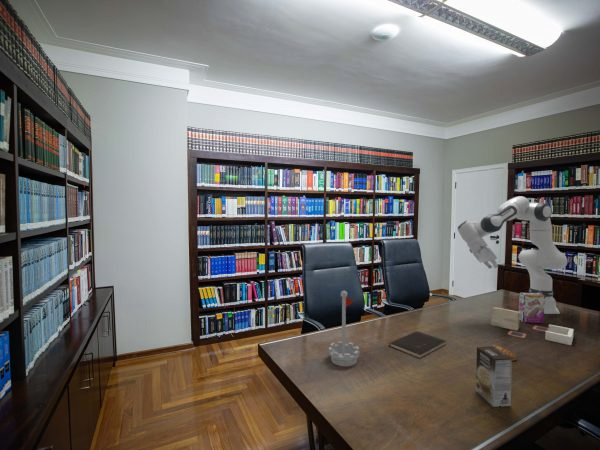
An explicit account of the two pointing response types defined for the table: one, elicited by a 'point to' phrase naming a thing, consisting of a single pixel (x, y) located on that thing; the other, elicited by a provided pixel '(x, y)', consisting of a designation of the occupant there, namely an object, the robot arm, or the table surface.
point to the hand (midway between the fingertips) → (493, 267)
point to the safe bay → (559, 334)
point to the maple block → (505, 318)
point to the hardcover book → (417, 344)
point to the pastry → (506, 352)
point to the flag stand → (344, 342)
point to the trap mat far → (541, 328)
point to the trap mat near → (517, 334)
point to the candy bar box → (531, 307)
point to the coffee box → (494, 376)
